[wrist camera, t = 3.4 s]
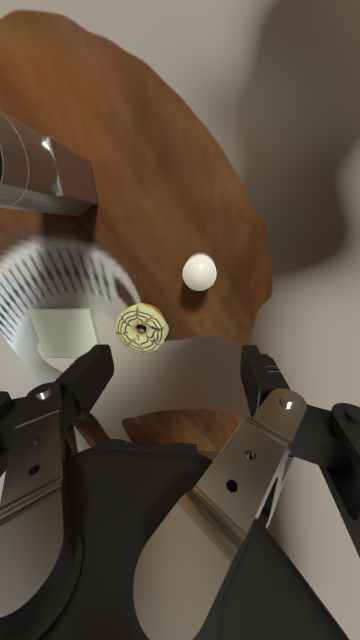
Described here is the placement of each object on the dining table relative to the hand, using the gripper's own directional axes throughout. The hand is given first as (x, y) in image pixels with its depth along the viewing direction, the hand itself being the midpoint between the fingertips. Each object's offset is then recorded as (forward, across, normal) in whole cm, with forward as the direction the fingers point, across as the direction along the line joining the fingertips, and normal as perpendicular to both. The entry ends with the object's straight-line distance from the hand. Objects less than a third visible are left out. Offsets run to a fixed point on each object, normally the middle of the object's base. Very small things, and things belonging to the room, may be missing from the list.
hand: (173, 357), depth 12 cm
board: (+28, +29, +12) cm, 42 cm away
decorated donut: (+29, +11, +11) cm, 32 cm away
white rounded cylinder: (+28, -1, -1) cm, 28 cm away
